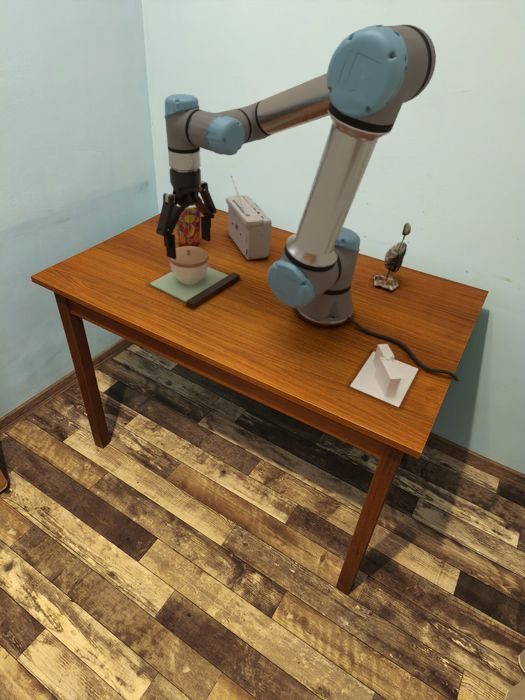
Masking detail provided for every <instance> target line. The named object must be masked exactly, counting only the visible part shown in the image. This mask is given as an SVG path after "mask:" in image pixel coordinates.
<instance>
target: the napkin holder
mask: <svg viewBox="0 0 525 700" xmlns="http://www.w3.org/2000/svg"><path fill="white" fill-rule="evenodd" d="M395 358H396V357H395V355H394V352H393V350H392V349H391V347H390V345H389V343H379V344H377V346H376V349H375V351H372V353H371V354H370V356H369V357H368V358H367V360H366V362H365V363H364V365H363V366H362V367H361V369H360V370H359V372H358V374H357V375H356V376H355V378H354V379H353V381H352V382H351V384H350V385H349V387H351V388H353V389H355V390H357V391H360V392H362V393H365V394H367V395H369V396H371V397H373V398H376V399H378V400H381V401H383V402H385V403H387V404H390V405H392V406H395V407H397V408H399V407H400V405H401V403H402V402H403V400H404V398H405V396H406V394H407V392H408V390H409V389H410V386H411V385H412V383H413V381H414V379H415V377H416V374H417V373H418V371H419V368H418V367H416V366H413V365H410V364H407V363H405V362H402V361H400V360H398V359H395Z"/></svg>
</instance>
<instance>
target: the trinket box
mask: <svg viewBox="0 0 525 700" xmlns="http://www.w3.org/2000/svg"><path fill="white" fill-rule="evenodd" d="M168 259H169V266H170V270H171V272H172V273H173V275H174V276H175V277H176V278H177V279H178V280H179V281H180V282H181V283H183V284H186V285H193V284H197V283H199V282H200V280H201V279H202V278H203V277H204V276H205V274H206V272H207V268H208V267H209V253H208V251H207V250H205V249H204V248H202V247H199V246H178V247H176V259H172V258H170V257H168Z"/></svg>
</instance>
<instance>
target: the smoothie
mask: <svg viewBox="0 0 525 700" xmlns="http://www.w3.org/2000/svg"><path fill="white" fill-rule="evenodd" d="M176 206H179V205H178V204H177V205H176ZM179 207H180V206H179ZM201 217H202V213H201V212H200V211H199V210H198V208H197V207H196V206H195V205H192V206H189V207H187V208H185V210H184V211H183V212H182V213H181V215H180V217H179V220H178V222H177V224H176V226H175V227H176V233H177V240H178V242H179V244H180V245H181V247H183V246H195V247H197V245H198V244H199V242H200V239H201V237H200V236H201Z"/></svg>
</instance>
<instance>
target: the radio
mask: <svg viewBox="0 0 525 700" xmlns="http://www.w3.org/2000/svg"><path fill="white" fill-rule="evenodd" d="M230 178H231V179H232V183H233V186H234V189H235V191H236V195H230V196H226V198H225V202H226V204H227V233H228V236H229V237H230V238H231V240H232V241H233V242H234V244H235V245H236V246H237V248H238V249H239V251H240V252H241V253H242V255H243V257H245V259H246V260H248V261H250V260H258V259H259V260H260V259H265V258H268V257H269V255H270V250H271V241H272V229H273V223H272V222H273V221H272V220H271V218H270V217H269V216H268V215H267V214H266V213H265V212H264V211H263V210H262V209H261V208H260V207H259V205H258V204H257V203H256V202H255V201H254V200H253V199H252V198H251V197H250V196H249V195H248V194H243V195H241V194H239V191H238V188H237V186H236V183H235V181H234V179H233V175H230Z"/></svg>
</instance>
